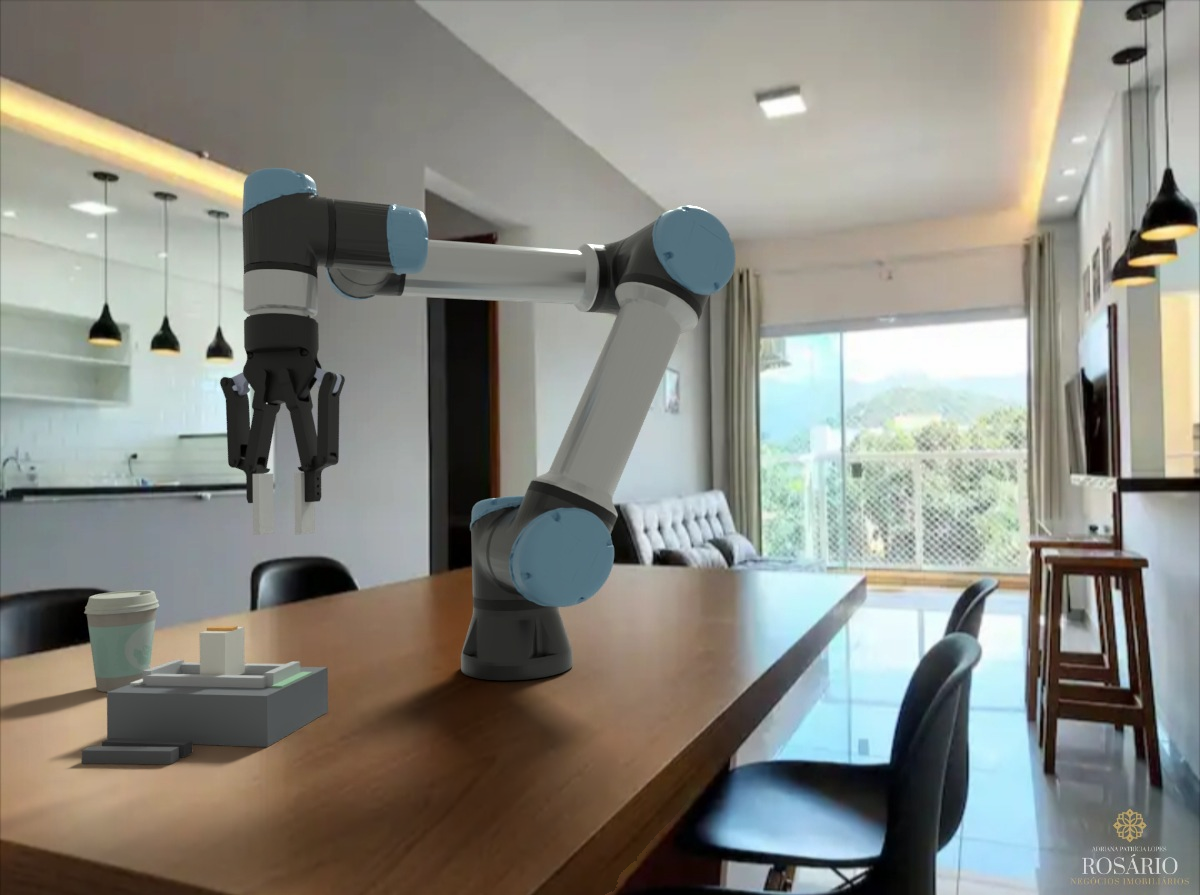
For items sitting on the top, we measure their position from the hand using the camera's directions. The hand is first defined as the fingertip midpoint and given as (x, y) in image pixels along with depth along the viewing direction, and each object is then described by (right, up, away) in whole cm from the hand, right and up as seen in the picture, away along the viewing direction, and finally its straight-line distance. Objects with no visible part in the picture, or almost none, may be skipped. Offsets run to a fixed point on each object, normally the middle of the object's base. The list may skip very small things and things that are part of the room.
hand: (284, 533), depth 88 cm
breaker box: (-7, -21, +1) cm, 22 cm away
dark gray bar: (-11, -21, -10) cm, 25 cm away
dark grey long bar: (-10, -21, -8) cm, 24 cm away
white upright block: (-7, -16, +1) cm, 17 cm away
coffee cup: (-29, -22, +19) cm, 41 cm away
